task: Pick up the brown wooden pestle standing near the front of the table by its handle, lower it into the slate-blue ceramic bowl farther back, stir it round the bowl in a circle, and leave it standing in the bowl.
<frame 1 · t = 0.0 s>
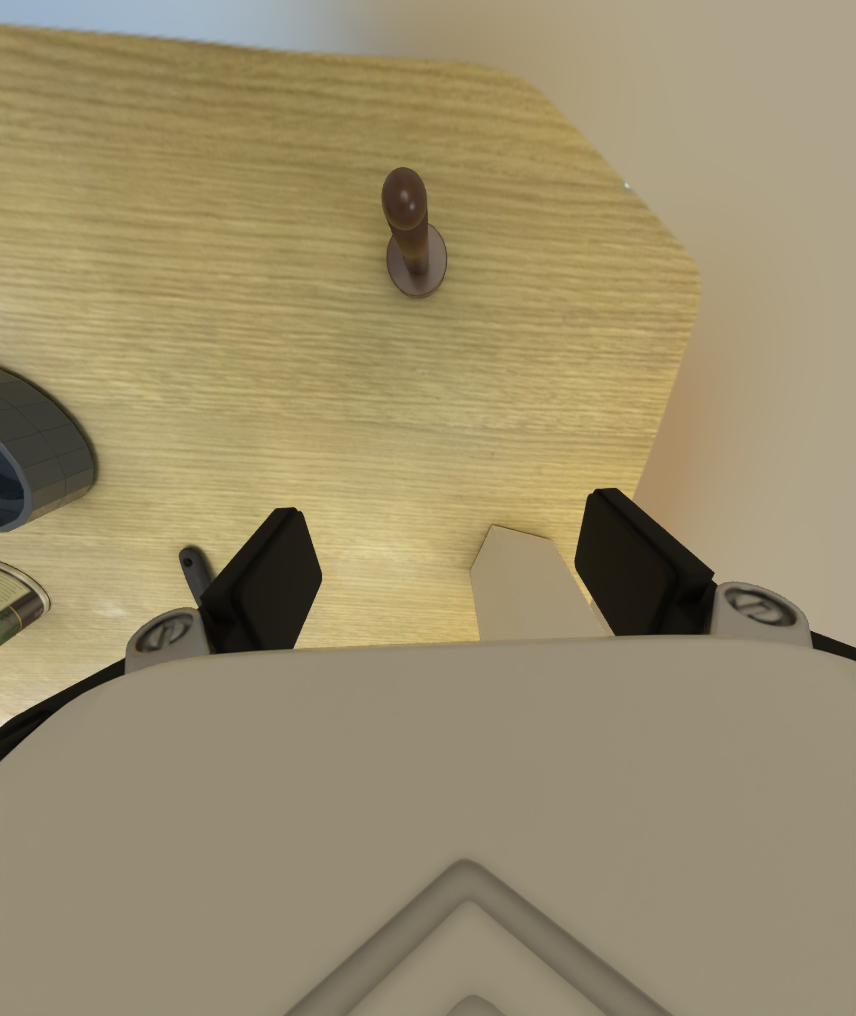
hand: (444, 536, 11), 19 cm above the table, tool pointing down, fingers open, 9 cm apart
coffee can: (5, 587, 39), on the table
bowl: (19, 437, 29), on the table
milk carton: (508, 554, 36), on the table
spatula: (229, 617, 41), on the table
brown wooden pestle: (417, 265, 22), on the table
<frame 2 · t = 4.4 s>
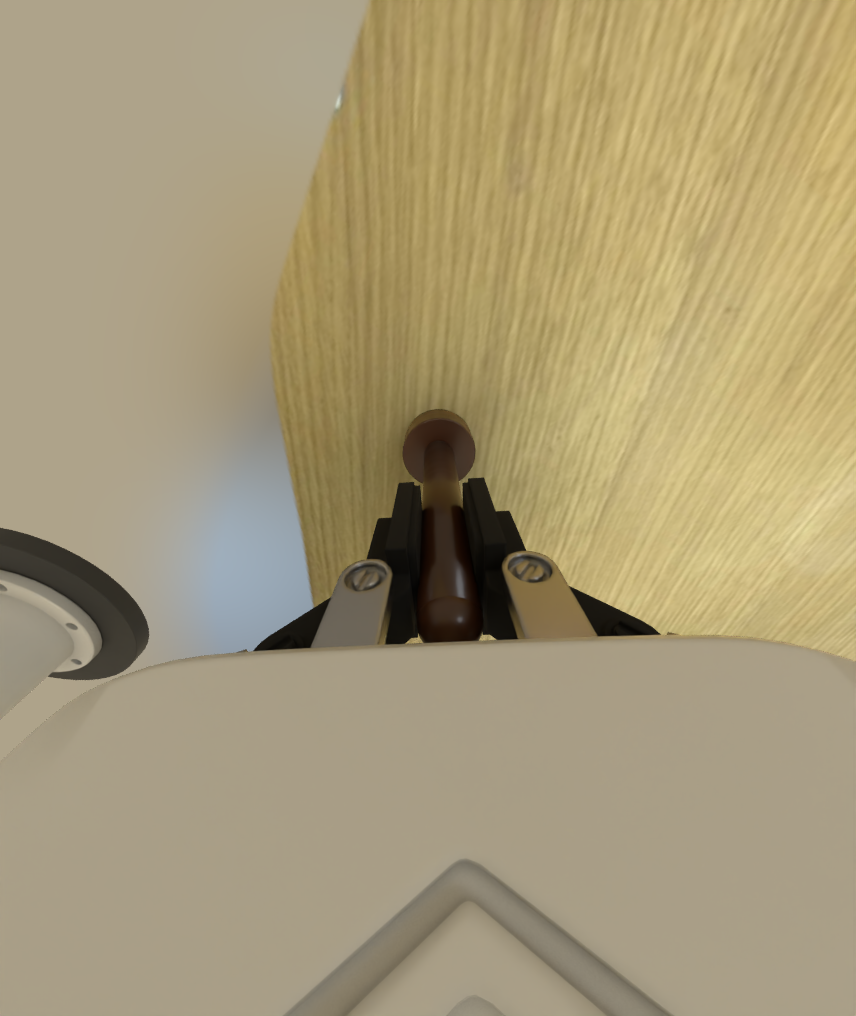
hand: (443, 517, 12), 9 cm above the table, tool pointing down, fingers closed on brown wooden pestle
brown wooden pestle: (438, 443, 19), on the table, touching gripper
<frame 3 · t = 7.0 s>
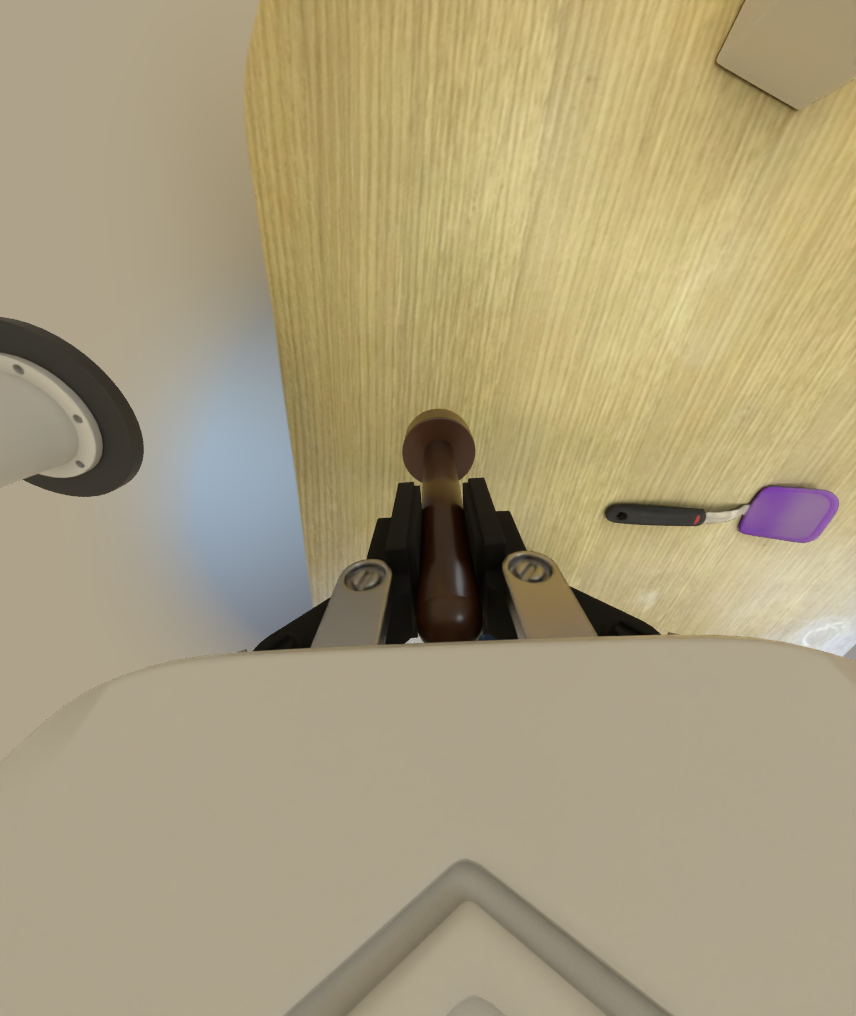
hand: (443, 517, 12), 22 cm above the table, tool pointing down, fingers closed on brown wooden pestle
milk carton: (799, 6, 19), on the table
spatula: (704, 508, 37), on the table
brown wooden pestle: (438, 442, 19), point 14 cm above the table, touching gripper
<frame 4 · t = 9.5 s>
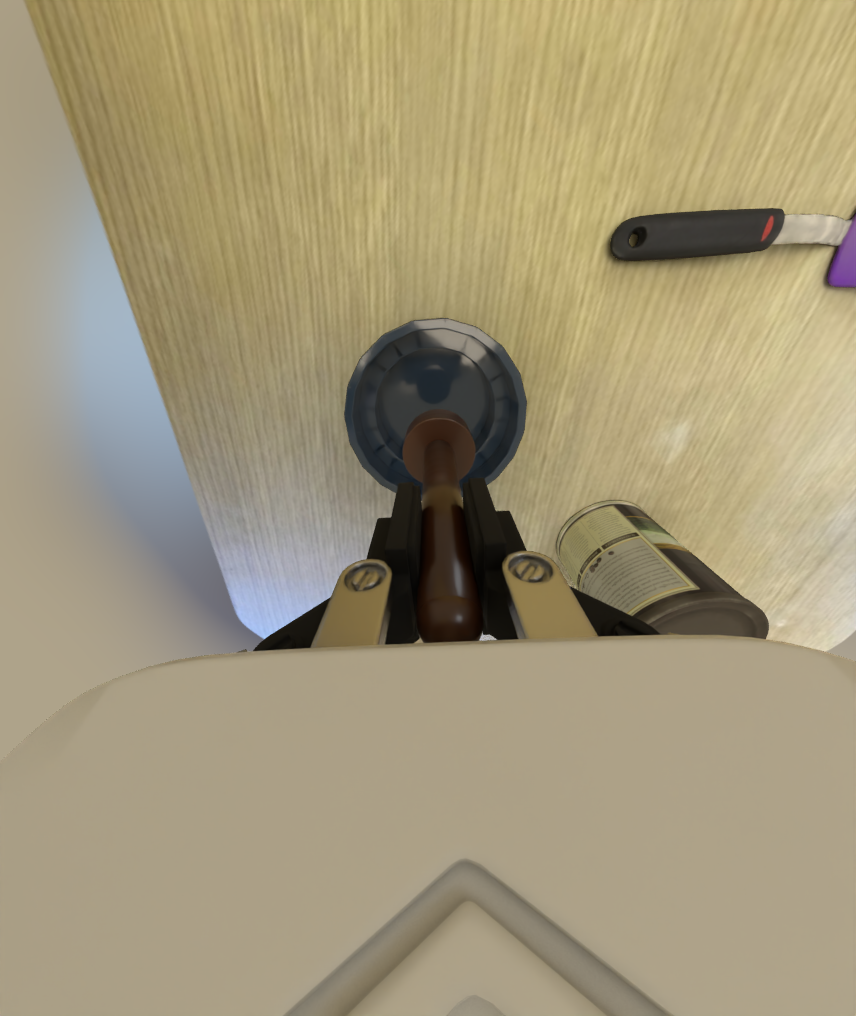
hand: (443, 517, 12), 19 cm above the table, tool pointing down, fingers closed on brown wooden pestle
coffee can: (600, 537, 36), on the table
bowl: (434, 405, 28), on the table
spatula: (774, 235, 22), on the table
brown wooden pestle: (438, 442, 19), point 11 cm above the table, touching gripper
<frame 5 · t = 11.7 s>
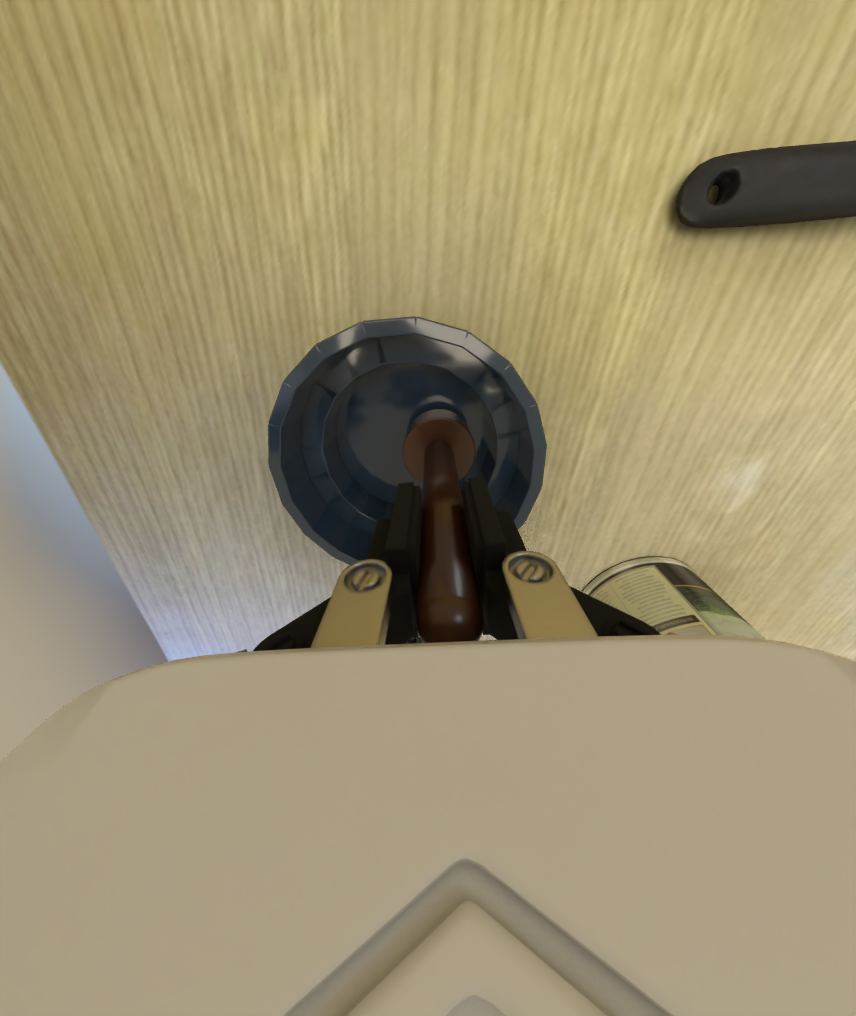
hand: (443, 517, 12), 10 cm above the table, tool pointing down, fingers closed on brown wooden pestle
coffee can: (632, 599, 28), on the table
bowl: (413, 438, 20), on the table
brown wooden pestle: (438, 442, 19), point 2 cm above the table, touching gripper
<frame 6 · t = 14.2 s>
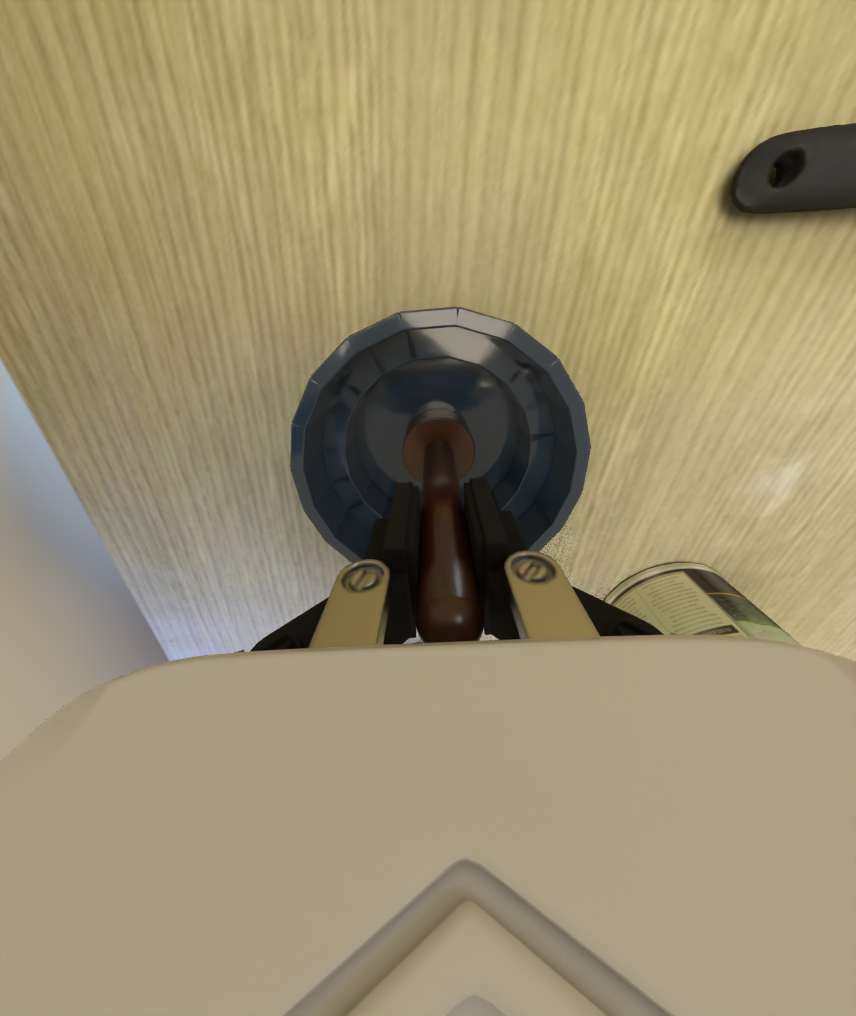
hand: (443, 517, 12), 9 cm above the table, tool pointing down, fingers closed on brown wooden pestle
coffee can: (657, 605, 27), on the table
bowl: (436, 439, 19), on the table
brown wooden pestle: (437, 442, 19), point 1 cm above the table, touching bowl, gripper
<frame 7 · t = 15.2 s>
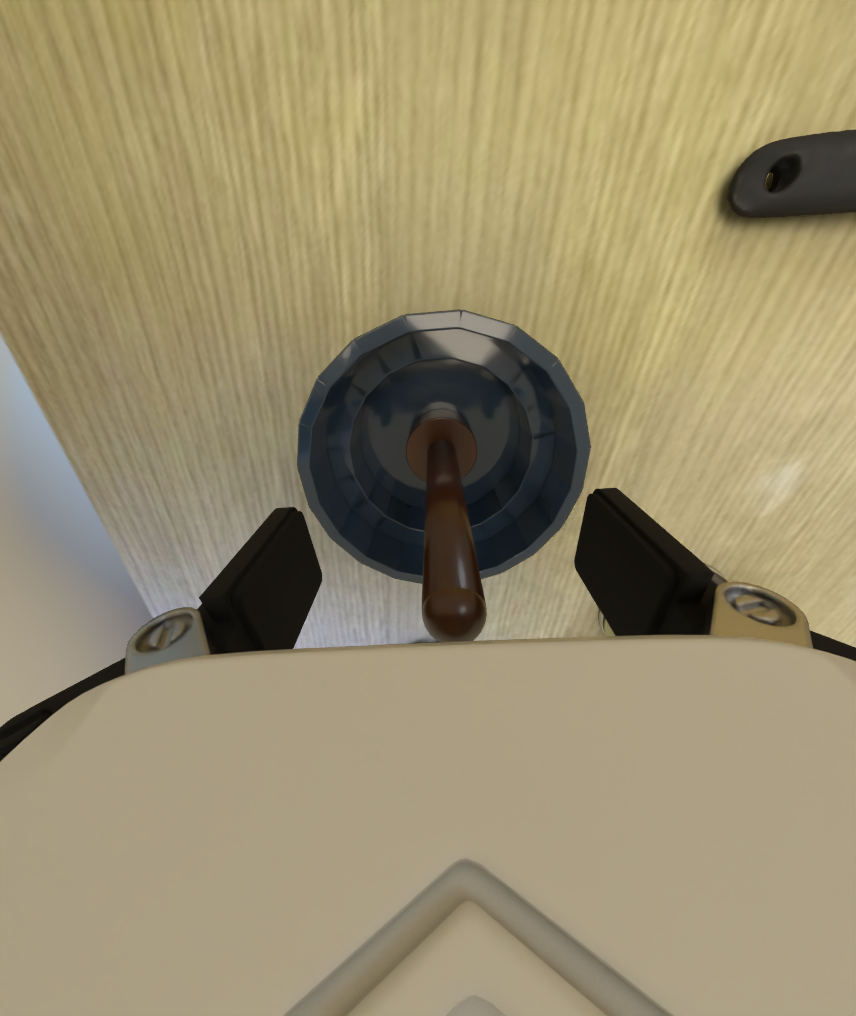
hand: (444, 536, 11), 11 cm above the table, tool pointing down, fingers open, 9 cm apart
coffee can: (657, 604, 27), on the table
bowl: (439, 439, 20), on the table
brown wooden pestle: (440, 442, 19), point 1 cm above the table, touching bowl
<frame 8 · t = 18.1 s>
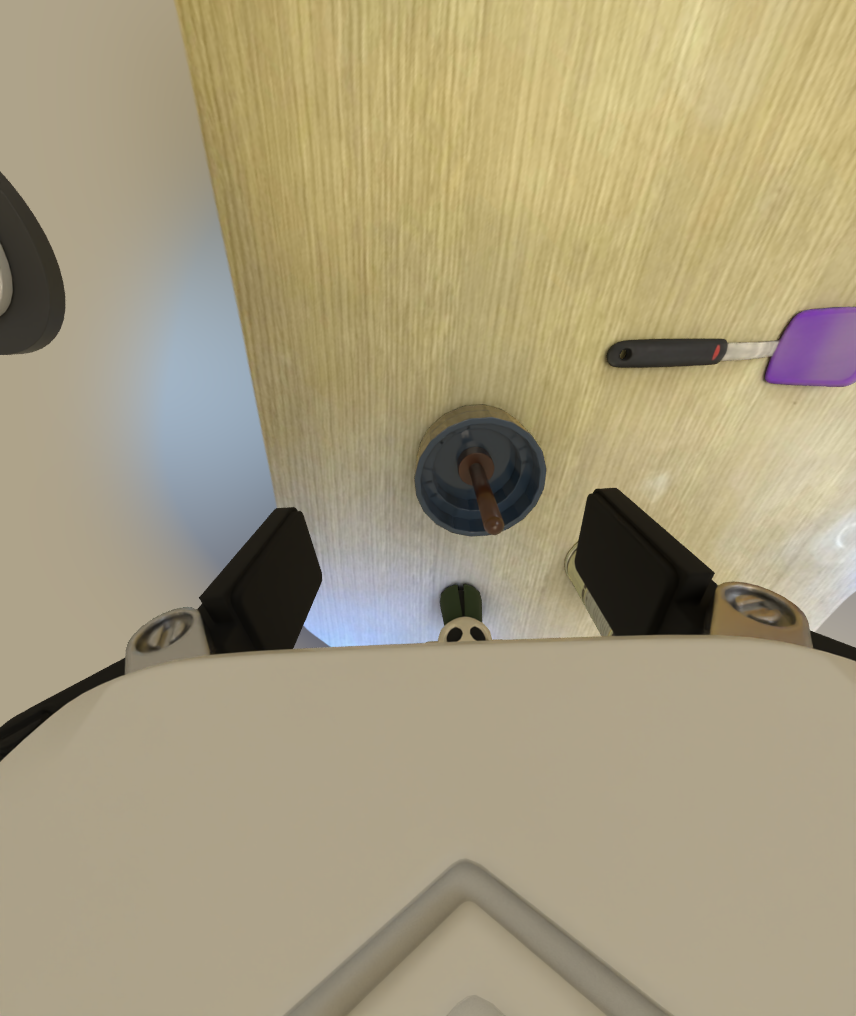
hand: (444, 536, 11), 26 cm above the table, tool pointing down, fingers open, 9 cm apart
coffee can: (600, 558, 44), on the table
bowl: (472, 461, 37), on the table
character mug: (459, 595, 48), on the table
spatula: (724, 349, 31), on the table
brown wooden pestle: (474, 463, 37), point 1 cm above the table, touching bowl
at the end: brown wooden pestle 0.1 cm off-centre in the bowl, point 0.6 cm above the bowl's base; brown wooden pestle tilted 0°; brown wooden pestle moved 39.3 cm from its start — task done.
